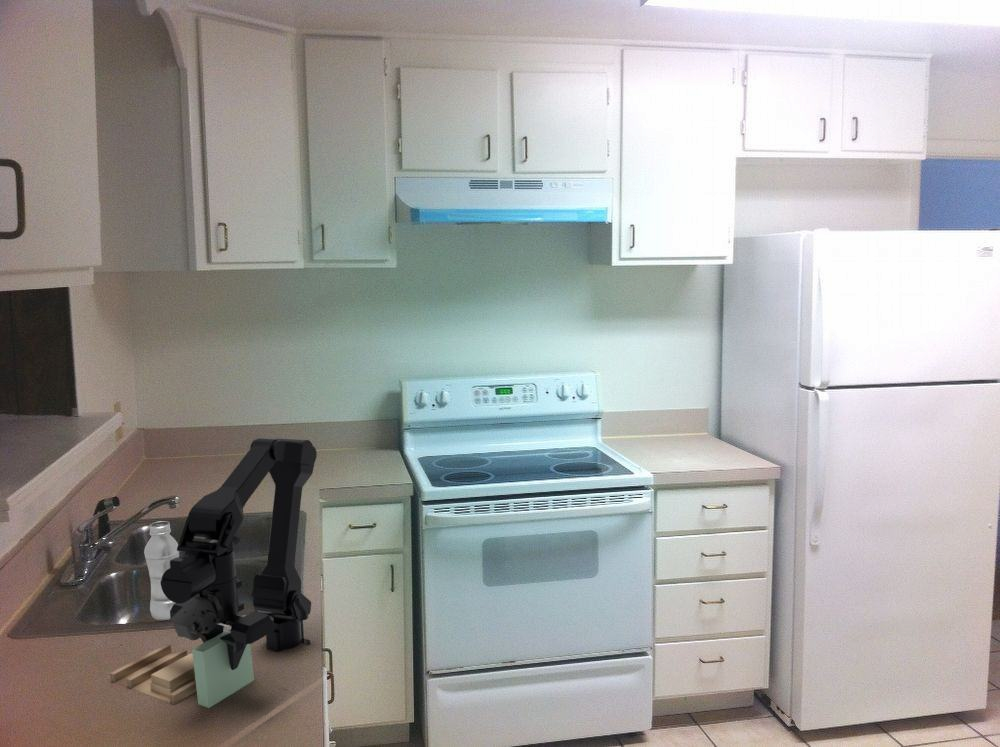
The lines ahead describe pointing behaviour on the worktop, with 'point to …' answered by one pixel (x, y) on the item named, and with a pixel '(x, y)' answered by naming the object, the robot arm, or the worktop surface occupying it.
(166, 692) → the block
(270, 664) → the worktop surface
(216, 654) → the pale green square slab
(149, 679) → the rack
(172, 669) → the offcut top
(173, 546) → the plastic bottle
